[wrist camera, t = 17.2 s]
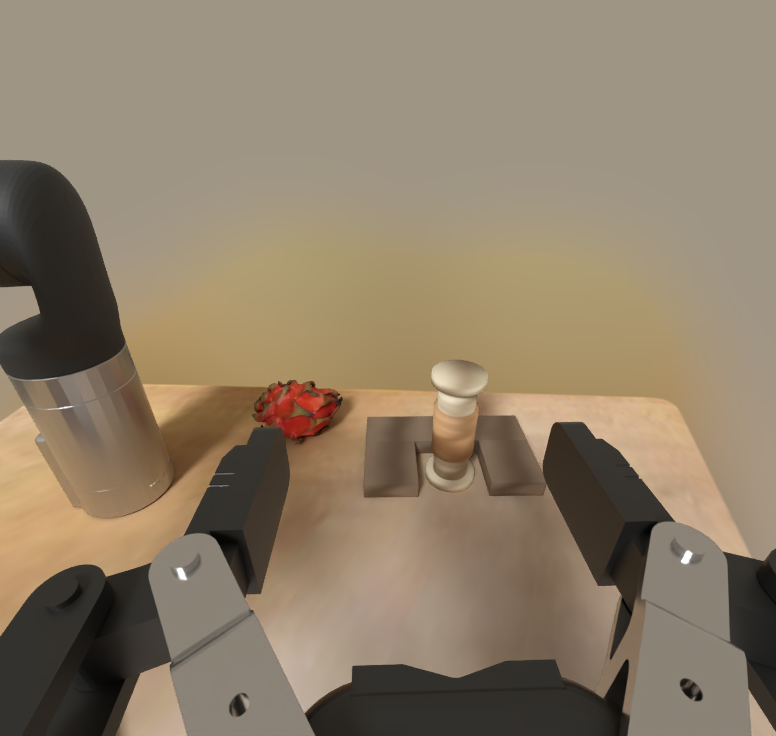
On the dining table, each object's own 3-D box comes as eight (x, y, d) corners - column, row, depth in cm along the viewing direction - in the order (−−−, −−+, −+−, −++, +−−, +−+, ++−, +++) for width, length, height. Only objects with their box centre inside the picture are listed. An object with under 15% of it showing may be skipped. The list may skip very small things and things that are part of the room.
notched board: (364, 497, 44) (363, 484, 43) (367, 428, 54) (367, 416, 53) (543, 495, 44) (546, 482, 43) (512, 427, 54) (514, 415, 53)
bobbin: (428, 492, 44) (435, 388, 37) (423, 457, 49) (429, 360, 42) (477, 492, 44) (494, 388, 37) (468, 457, 49) (481, 359, 42)
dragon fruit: (252, 447, 53) (338, 436, 58) (256, 451, 45) (355, 437, 50) (247, 385, 54) (332, 379, 59) (251, 378, 46) (348, 371, 51)
